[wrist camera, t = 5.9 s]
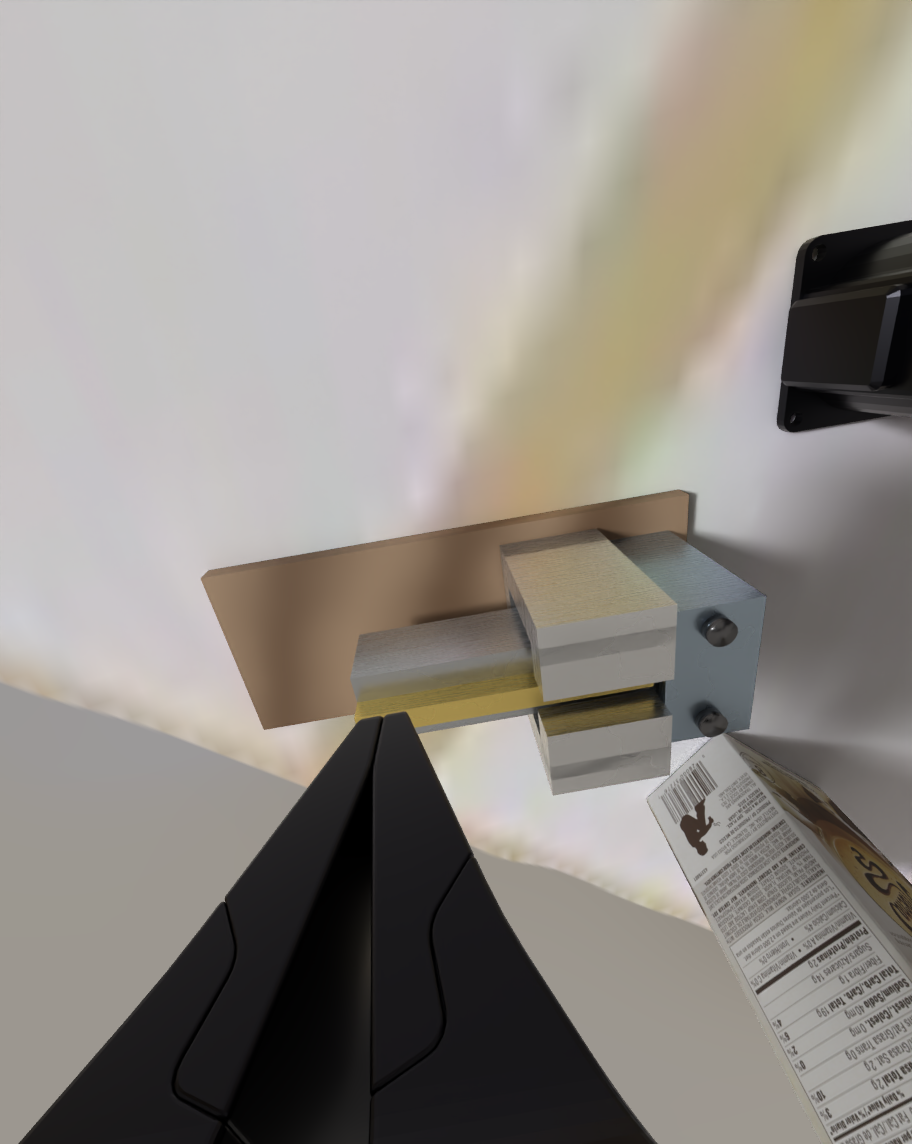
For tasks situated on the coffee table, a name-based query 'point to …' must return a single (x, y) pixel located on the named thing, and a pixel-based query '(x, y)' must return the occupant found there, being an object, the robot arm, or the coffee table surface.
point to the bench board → (383, 597)
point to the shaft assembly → (508, 689)
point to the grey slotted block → (594, 658)
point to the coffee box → (803, 932)
